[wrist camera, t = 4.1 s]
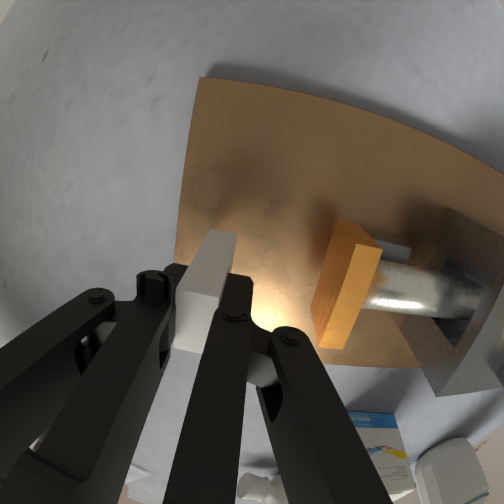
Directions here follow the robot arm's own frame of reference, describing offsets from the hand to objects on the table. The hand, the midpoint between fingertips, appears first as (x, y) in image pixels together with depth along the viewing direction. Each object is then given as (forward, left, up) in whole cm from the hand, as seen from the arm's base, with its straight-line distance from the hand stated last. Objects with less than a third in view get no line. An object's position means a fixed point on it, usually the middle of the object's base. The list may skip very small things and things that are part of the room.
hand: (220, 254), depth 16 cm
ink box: (+18, -23, -5) cm, 30 cm away
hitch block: (+13, 0, -5) cm, 14 cm away
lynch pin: (+13, 0, -1) cm, 13 cm away
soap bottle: (+43, -34, -5) cm, 55 cm away
